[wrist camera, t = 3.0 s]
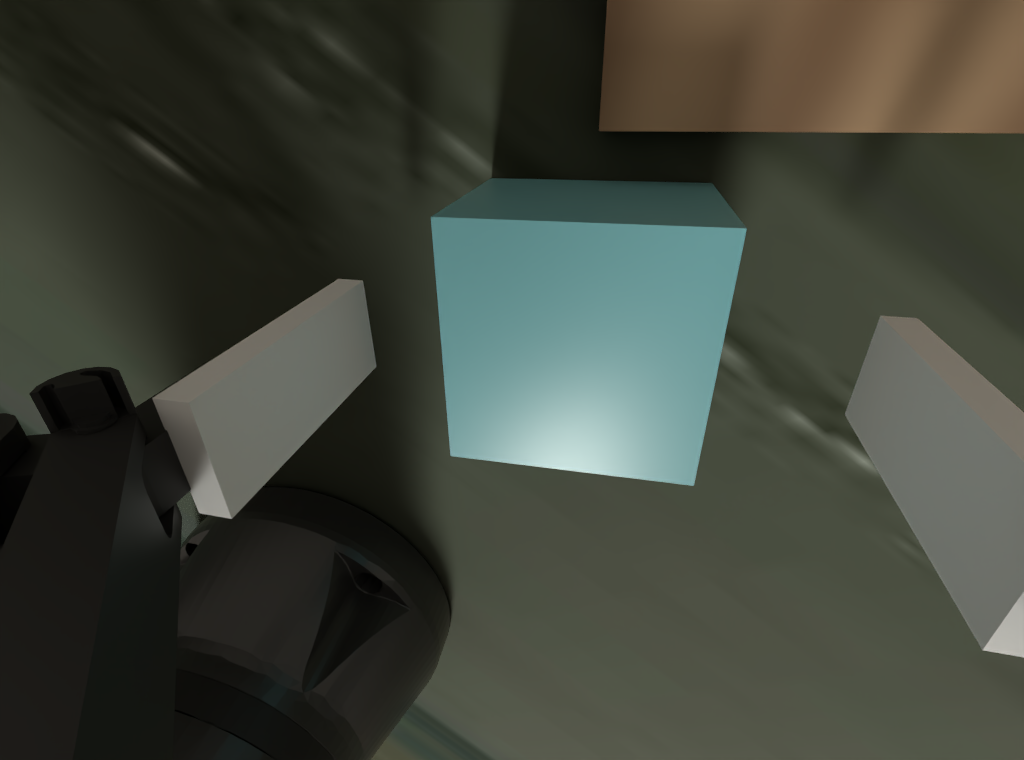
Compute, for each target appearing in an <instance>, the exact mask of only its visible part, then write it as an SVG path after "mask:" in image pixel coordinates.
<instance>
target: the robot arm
mask: <svg viewBox="0 0 1024 760" xmlns="http://www.w3.org/2000/svg"><path fill="white" fill-rule="evenodd" d="M376 367H377V366H376V360H375V353H374V347H373V341H372V334H371V328H370V322H369V315H368V309H367V302H366V296H365V290H364V283H363V280H348V279H337V280H336V281H334V282H333V283H331V284H330V285H328V286H326V287H325V288H323V289H322V290H320V291H319V292H317V293H316V294H314V295H312V296H311V297H309V298H308V299H306V300H305V301H303V302H301V303H300V304H298V305H297V306H295V307H294V308H292V309H291V310H289V311H287V312H286V313H284V314H283V315H281V316H280V317H278V318H276V319H275V320H273V321H272V322H270V323H269V324H267V325H266V326H264V327H262V328H261V329H259V330H258V331H256V332H255V333H253V334H252V335H250V336H248V337H247V338H245V339H244V340H242V341H241V342H239V343H237V344H236V345H234V346H233V347H231V348H230V349H228V350H227V351H225V352H223V353H222V354H220V355H219V356H217V357H215V358H212V359H211V360H209V361H208V362H206V363H204V364H203V365H201V366H200V367H198V368H197V369H195V371H194V372H190V373H189V374H187V375H186V376H184V377H183V378H181V380H180V381H176V382H175V383H173V384H172V385H170V386H168V387H167V388H165V389H164V390H162V391H161V392H159V393H157V394H156V395H154V396H153V397H151V398H150V399H148V400H147V401H145V402H143V403H142V404H140V405H139V406H137V407H136V408H135V407H134V404H133V402H132V400H131V397H130V395H129V393H128V390H127V388H126V386H125V384H124V381H123V379H122V377H121V374H120V372H119V370H116V369H114V368H111V367H93V368H85V369H80V370H76V371H72V372H68V373H64V374H62V375H59V376H57V377H54V378H51V379H49V380H47V381H45V382H44V383H42V384H40V385H38V386H36V388H35V389H34V390H33V391H32V392H31V393H30V396H31V398H32V399H33V401H34V403H35V405H36V407H37V409H38V411H39V412H40V414H41V416H42V418H43V420H44V422H45V423H46V425H47V427H48V429H49V431H50V433H51V434H42V435H29V436H26V434H25V432H24V431H23V429H22V427H21V425H20V424H19V422H18V420H17V418H16V417H15V416H14V415H10V414H7V413H2V414H0V760H371V758H372V757H373V756H374V754H375V753H376V752H377V750H378V749H379V748H380V746H381V745H382V744H383V742H384V741H385V740H386V738H387V737H388V736H389V734H390V733H391V732H392V730H393V729H394V728H395V726H396V725H397V723H398V722H399V721H400V719H401V718H402V717H403V715H404V714H405V713H406V711H407V710H408V709H409V707H410V706H411V705H412V703H413V702H414V701H415V699H416V698H417V697H418V695H419V694H420V693H421V691H422V690H423V689H424V687H425V686H426V685H427V683H428V682H429V680H430V679H431V677H432V675H433V673H434V671H435V669H436V667H437V664H438V661H439V658H440V655H441V652H442V650H443V647H444V644H445V641H446V638H447V635H448V632H449V627H450V611H449V605H448V601H447V597H446V595H445V592H444V590H443V587H442V585H441V583H440V581H439V579H438V578H437V576H436V574H435V573H434V571H433V570H432V568H431V567H430V566H429V564H428V563H427V562H426V560H425V559H424V558H423V557H422V556H421V555H420V554H419V552H418V551H417V550H416V549H415V548H414V547H413V546H412V545H411V544H409V543H408V542H407V541H406V540H405V539H404V538H403V537H402V536H400V535H399V534H398V533H397V532H395V531H394V530H393V529H391V528H390V527H389V526H387V525H386V524H384V523H383V522H381V521H380V520H378V519H377V518H375V517H373V516H372V515H370V514H368V513H366V512H364V511H362V510H361V509H359V508H356V507H354V506H352V505H350V504H348V503H345V502H343V501H340V500H338V499H335V498H332V497H329V496H326V495H323V494H319V493H316V492H311V491H307V490H301V489H295V488H286V487H265V488H262V487H263V486H264V485H265V484H266V482H267V481H268V480H269V479H270V478H271V477H272V476H273V475H274V474H275V473H276V472H277V471H278V470H279V469H280V468H281V467H282V466H283V465H284V464H285V462H286V461H287V460H288V459H289V458H290V457H291V456H292V455H293V454H294V453H295V452H296V451H297V450H298V449H299V448H300V447H301V446H302V445H303V444H304V442H305V441H306V440H307V439H308V438H309V437H310V436H311V435H312V434H313V433H314V432H315V431H316V430H317V429H318V428H319V427H320V426H321V425H322V424H323V422H324V421H325V420H326V419H327V418H328V417H329V416H330V415H331V414H332V413H333V412H334V411H335V410H336V409H337V408H338V407H339V406H340V405H341V404H342V402H343V401H344V400H345V399H346V398H347V397H348V396H349V395H350V394H351V393H352V392H353V391H354V390H355V389H356V388H357V387H358V386H359V385H360V384H361V382H362V381H363V380H364V379H365V378H366V377H367V376H368V375H369V374H370V373H371V372H372V371H373V370H374V369H375V368H376ZM845 416H846V418H847V419H848V421H849V423H850V424H851V426H852V428H853V430H854V431H855V433H856V435H857V436H858V438H859V440H860V442H861V443H862V445H863V447H864V448H865V450H866V452H867V454H868V455H869V457H870V459H871V460H872V462H873V464H874V465H875V467H876V469H877V471H878V472H879V474H880V476H881V477H882V479H883V481H884V483H885V484H886V486H887V488H888V489H889V491H890V493H891V495H892V496H893V498H894V500H895V501H896V503H897V505H898V507H899V508H900V510H901V512H902V513H903V515H904V517H905V518H906V520H907V522H908V524H909V525H910V527H911V529H912V530H913V532H914V534H915V536H916V537H917V539H918V541H919V542H920V544H921V546H922V548H923V549H924V551H925V553H926V554H927V556H928V558H929V560H930V561H931V563H932V565H933V566H934V568H935V570H936V571H937V573H938V575H939V577H940V578H941V580H942V582H943V583H944V585H945V587H946V589H947V590H948V592H949V594H950V595H951V597H952V599H953V601H954V602H955V604H956V606H957V607H958V609H959V611H960V612H961V614H962V616H963V618H964V619H965V621H966V623H967V624H968V626H969V628H970V630H971V631H972V633H973V635H974V636H975V638H976V640H977V642H978V643H979V645H980V647H981V648H982V650H985V651H990V652H996V653H1002V654H1008V655H1013V656H1019V657H1024V412H1023V411H1021V410H1020V409H1019V408H1018V407H1017V406H1016V405H1015V404H1014V403H1012V402H1011V401H1010V400H1009V399H1008V398H1007V397H1006V396H1005V395H1003V394H1002V393H1001V392H1000V391H999V390H998V389H997V388H996V387H994V386H993V385H992V384H991V383H990V382H989V381H988V380H987V379H985V378H984V377H983V376H982V375H981V374H980V373H979V372H978V371H976V370H975V369H974V368H973V367H972V366H971V365H970V364H969V363H967V362H966V361H965V360H964V359H963V358H962V357H961V356H959V355H958V354H957V353H956V352H955V351H954V350H953V349H952V348H950V347H949V346H948V345H947V344H946V343H945V342H944V341H943V340H941V339H940V338H939V337H938V336H937V335H936V334H935V333H934V332H932V331H931V330H930V329H929V328H928V327H927V326H926V325H925V324H923V323H922V322H921V321H920V320H919V319H918V318H907V317H892V316H880V318H879V321H878V324H877V327H876V329H875V332H874V335H873V338H872V341H871V343H870V346H869V349H868V352H867V354H866V357H865V360H864V363H863V365H862V368H861V371H860V374H859V377H858V379H857V382H856V385H855V388H854V390H853V393H852V396H851V399H850V401H849V404H848V407H847V410H846V413H845ZM189 491H190V492H191V494H192V497H193V499H194V502H195V504H196V507H197V509H198V511H199V513H201V514H206V515H208V516H207V517H206V518H205V519H204V520H203V521H202V522H201V523H200V524H199V525H198V526H197V527H196V528H195V529H194V530H193V531H192V532H191V533H190V535H189V536H188V537H187V539H186V540H185V541H184V543H183V544H182V546H181V528H182V516H181V513H180V510H179V508H178V506H177V504H176V503H177V502H178V501H179V500H180V499H181V498H182V497H183V496H184V495H186V494H187V493H188V492H189Z"/></svg>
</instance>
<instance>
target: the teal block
mask: <svg viewBox="0 0 1024 760" xmlns="http://www.w3.org/2000/svg"><path fill="white" fill-rule="evenodd" d="M431 226H432V238H433V250H434V262H435V274H436V286H437V298H438V310H439V322H440V334H441V346H442V358H443V370H444V382H445V394H446V406H447V419H448V431H449V443H450V455H451V456H455V457H463V458H471V459H480V460H488V461H496V462H504V463H512V464H520V465H529V466H537V467H545V468H553V469H561V470H569V471H578V472H586V473H594V474H602V475H610V476H619V477H627V478H635V479H643V480H651V481H659V482H668V483H676V484H684V485H692V486H694V482H695V477H696V472H697V468H698V463H699V458H700V453H701V448H702V443H703V438H704V434H705V429H706V424H707V419H708V414H709V409H710V405H711V400H712V395H713V390H714V385H715V380H716V375H717V371H718V366H719V361H720V356H721V351H722V346H723V342H724V337H725V332H726V327H727V322H728V317H729V312H730V308H731V303H732V298H733V293H734V288H735V283H736V278H737V274H738V269H739V264H740V259H741V254H742V249H743V245H744V240H745V235H746V230H747V228H746V227H745V225H744V224H743V223H742V222H741V220H740V219H739V218H738V216H737V215H736V214H735V212H734V211H733V210H732V208H731V207H730V206H729V205H728V203H727V202H726V201H725V199H724V198H723V197H722V195H721V194H720V193H719V191H718V190H717V189H716V188H715V186H714V185H713V184H712V183H691V182H645V181H599V180H554V179H508V178H491V179H489V180H488V181H486V182H484V183H483V184H481V185H480V186H478V187H477V188H475V189H473V190H472V191H470V192H469V193H467V194H466V195H464V196H463V197H461V198H459V199H458V200H456V201H455V202H453V203H452V204H450V205H449V206H447V207H445V208H444V209H442V210H441V211H439V212H438V213H436V214H435V215H433V216H431Z"/></svg>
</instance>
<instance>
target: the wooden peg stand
mask: <svg viewBox="0 0 1024 760" xmlns="http://www.w3.org/2000/svg"><path fill="white" fill-rule="evenodd" d="M599 131H673V132H872V133H1024V0H607V13H606V28H605V43H604V59H603V74H602V90H601V105H600V121H599Z"/></svg>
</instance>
